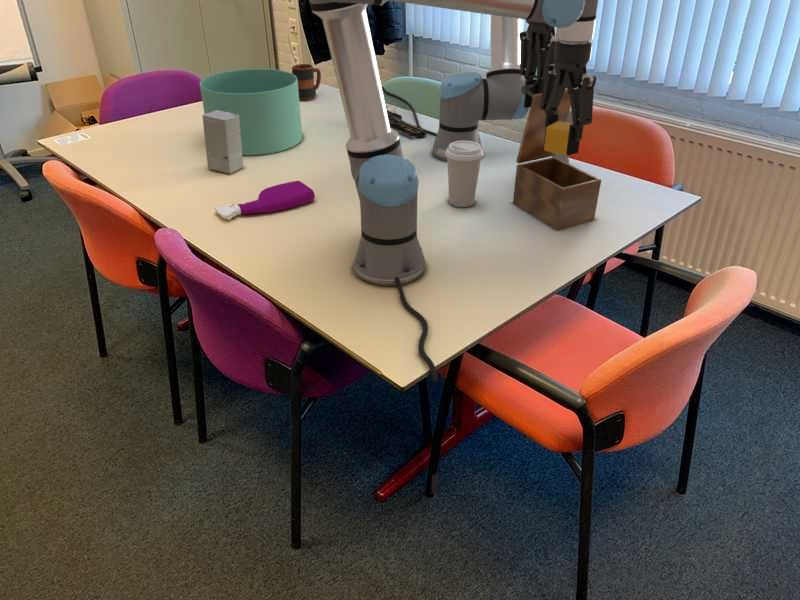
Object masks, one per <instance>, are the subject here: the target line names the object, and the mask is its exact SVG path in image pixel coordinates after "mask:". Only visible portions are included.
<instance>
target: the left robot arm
mask: <svg viewBox="0 0 800 600" xmlns="http://www.w3.org/2000/svg"><path fill="white" fill-rule="evenodd" d="M308 1H309V5H310V9H311V12H312V13H313V14H314V15H316V16H318V17H319V18H320V19H321V20H322V24H323V29H324V33H325V36H326V41H327V45H328V48H329V53H330V59H331V61H332V65H333V69H334V70H333V71H334V73H335V77H336V82H337V86H338V89H339V94H340V98H341V102H342V106H343V107H342V108H343V110H344V114H345V118H346V119H345V120H346V123H347V127H348V130H349V135H350V137H349V138H348V140H347V142H346V143H345V148H346V152H347V157H348V162H349V164H350V173H351V176H352V178H353V181H354V184H355V189H356V192H357V195H358V200H359V206H360V207H359V208H360V211H359V212H360V239H359V242H358V247H357V249H356V252H355V256H354V259H353V270H354V273H355V275H356V276H357V277H358V278H359V279H360V280H362V281H364V282H366V283H369V284H370V285H371V284H372V285H376V286H382V287H395V286H396V288H397V291H398V295H399V300H400V302H401V304H402V306H403V307H404V308H405V309H406V311H407V312H409V313H410V314H411V315H413V316H414V317H415V318H417V320H419V322H420V323H421V326H422V330H421V333H420V336H419V340H418V347H417V348H418V354H419V355H420V357H421V359H422V360H423V361H424V362H425V363H426V365H427V366H428V369H429V371H430V376H431V379H432V381H433V382H438V381H439V376H438V372H437V369H436V366H435V364H434V362H433V361H432V359H431V357H430V356H429V355H428V354H427V353H426V351H425V346H424V345H425V341H426V340H427V339H426V338H427V336H428V332H429V325H428V322H427V319H425V317H424V316H423V315H422V314H421V313H420V312H418V311H417V310H416V309H414V308H413V307H412V306H411V305H410V303H408V301H407V298H406V295H405V291H404V288H403V286H402V285H406V284H410V283H413V282H415V281H417V280H418V279H420V278H421V276H423V274H424V273H425V270H426V260H425V255H424V252H423V250H422V249H423V248H422V247H421V244H420V241H419V238H418V195H419V194H418V190H419V184H420V183H419V177H418V171H417V170H418V169H417V168H416V166H415V164H414V163H413V162H411V160H409V159H407V158H404V152H403V148H402V143H401V138H400V134H399V132H398V130H396V129H394V128H393V127H391V126H390V125H389V120H388V115H387V110H386V105H385V104H386V101H385V96H384V91H383V89H382V86H383V85H382V82H381V77H380V72H379V67H378V62H377V58H376V52H375V48H374V42H373V38H372V33H371V28H370V23H369V18H368V13H367V7H368V5H370V6H371V5H373V6H379V7H381V6H382V7H383V5H384V4H385V3H387V2H389V1H390V2H397V3H405V4H411V5H418V6H425V7H426V6H427V7H433V8H440V9H446V10H454V11H460V12H461V11H462V12H469V13H475V14H481V15H482V14H483V15H487V16H488V15H490V16H491V15H495V16H503V17H510V18H517V19H521V20H523V21H526V20H528V21H535V22H541V23H547V24H548V25H549V26H551V27H555V33H556V35H555V37H556V39H557V40H558V41H557V42H556V43H555V49H554V60H555V61H557V62H556V64H550V65H546V67H545V74H546V76H545V82H544V87H543V93H542V98H541V103H540V109H541V110H544V111H545V114H546V119H545V128H546V129H547V127H548V126H549V125H551V124H553V123H555V122H557V121H558V117H559V115H558V114H555V113H558V112H559V111H558V110H557V109H558V107H559V104H560V102H561V99H562V97H563V94H564V92H565V89H567V91H568V94H570V101H571V110H572V119H573V124H571V125H570V128H569V137H568V144H567V152H566V155H567V156H573V155H577V154H579V148H580V141H581V140H582V138H583V133H584V132H583V131H584V126H588V125H592V123H593V109H594V108H593V107H594V95H595V94H594V91H595V87H596V83H597V76H596V75H592V76H591V75H590V74H588V69H587V65H588V63H589V62H591V59H592V53H593V43H592V42H591V41H592V40H594V35H595V27H596V21H597V14H598V13H597V12H598V7H599V0H308ZM573 88H575V89H573ZM546 102H547V103H546ZM545 138H546V130H545ZM544 144H545V139H544ZM437 492H438V473H434V474H431V494H433V495H436V494H437Z"/></svg>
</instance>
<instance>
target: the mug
mask: <svg viewBox="0 0 800 600" xmlns="http://www.w3.org/2000/svg"><path fill="white" fill-rule="evenodd" d="M321 72H322V71H321V70H320V68H317V67H315V68H314V67H313V64H307V63H299V64H295V65H293V66H292V67H291V73H292V74H293V75H295V76H296V77H297V81H298V92H299V101H305V102H306V101H312V100H315V98H316V96H317V90H318V89H319V88H320V85H321V80H322V74H321ZM314 73H316V82H315V75H314Z"/></svg>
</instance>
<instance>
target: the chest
mask: <svg viewBox="0 0 800 600" xmlns="http://www.w3.org/2000/svg"><path fill="white" fill-rule="evenodd" d="M514 179H515V180H514V188H513V199H512V204H513V205H515V206H516V207H518V208H520V209H521V210H522V211H525V212H526V213H528V214H529V215H531V216H532V217H535V218H536V219H537V220H540V221H541V222H543V223H545V225H548V226H549V227H551V228H553V229H554V230H556V231H557V230H562V229H565V228H568V227H572V226H575V225H580V224H583V223H587V222H590V221H594V220H595V218H596V211H597V206H598V202H599V201H598V200H599V196H600V189H601V185H602V179H601V178H599V177H597V176H595V175H593V174H591V173H588V172H586V171H584V170H582V169H580V168H578V167H576V166H574V165H573V164H570V163H569V164H568V163H566V162H564V161H562V160H560V159H558V158H555V157H552V156H551V157H546V158H542V159H537V160H533V161H528V162H524V163H519V164H516V170H515V178H514Z"/></svg>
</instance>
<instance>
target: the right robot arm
mask: <svg viewBox="0 0 800 600" xmlns="http://www.w3.org/2000/svg"><path fill="white" fill-rule="evenodd" d="M525 22H526V24H527V25H528V26H527V28H526V30H525V31H522V19H517V18H510V17H503V16H495V15H490V56H491V59H490V60H491V61H490V62H491V64H490V65H491V67H490V68H489V69H488V70H487V71H486V72H485V73H486V74H485V78H483V77H482V75H481V74H480V73H478V72H475V71H474V72H470V71H467V72H466V71H465V72H458V73H453V74H450V75H448V76H446V77H445V78H443V79H442V80H441V84H440V91H439V96H438V97H439V120H438V122H439V123H438V131H437V132H435V131H431V130H428V129H425V128H423V127H422V126H421V125H420V122H419V120H418V116H417V113H416V110H415V108H414V106H413V104H411V102H408V101H407V100H406V99H405V98H403V97H401V96H399V95H397V94H395V93H392V92H389V91H387V90H386V88H385V87H384V86H383V85H381V86H382V91H383V93H385V94H387V95H388V96H391V97H393V98H396V99H398V100H400V101H402V102H403V103H404V104H406V105H407V106H408V107H409V108H410V110H411V112H412V115H413V117H414V121H415V123H416V126H417V127H419V128H421V129H424V130H426V131H427V134H428V135H431V136H434V137H435V138H434V143H433V144H432V150H431V151H432V152H431V153H432V156H433V157H434V158H436V159H438V160H440V161H443V162H447V156H446V155H445V152H446V150H447V148H448V147H449V144H450V143H452V142H455V141H472V142H476V143H478V144H480V146H481V149H482V150H483V144H482V140H481V137H480V133H479V121H500V120H503V121H504V120H505V121H507V120H508V121H513V120H521V119H524V118H525V117H526V116H528V115H527V114H529V111H530V107H531V104H532V100H533V98H532V97H531V96H530V95H528V94H525V95H524V94H522V91H521V88H522V86H524V85H530V84H534V85H533V93H534V94H540V93H543V87H544V82H545V76H546V74H545V67H546V65H550V64H556V62H557V61H555V60H554V49H555V43H556V42H557V41H558V40H557V39H556V27H551V26H549V25H548V24H547V23H541V22H535V21H528V20H525ZM483 151H484V150H483Z"/></svg>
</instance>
